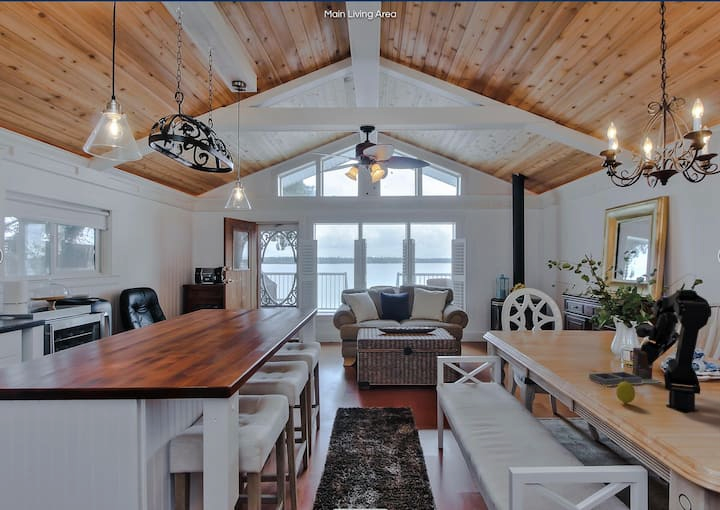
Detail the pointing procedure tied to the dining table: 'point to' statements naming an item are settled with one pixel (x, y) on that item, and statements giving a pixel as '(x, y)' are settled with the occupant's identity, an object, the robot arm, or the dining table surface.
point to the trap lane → (620, 378)
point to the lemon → (625, 392)
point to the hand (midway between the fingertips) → (654, 359)
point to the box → (641, 364)
